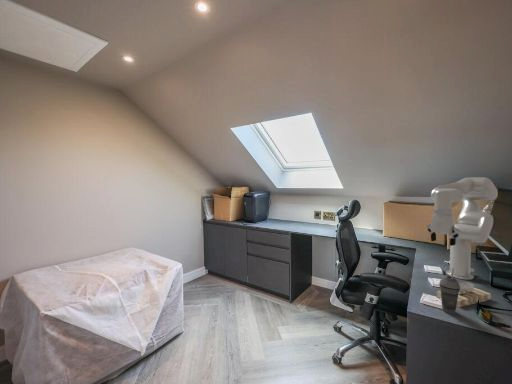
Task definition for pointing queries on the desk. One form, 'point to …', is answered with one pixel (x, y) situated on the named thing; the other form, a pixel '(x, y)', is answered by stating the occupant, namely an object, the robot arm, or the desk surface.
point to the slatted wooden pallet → (470, 297)
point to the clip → (466, 288)
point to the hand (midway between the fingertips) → (442, 243)
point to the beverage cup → (449, 293)
